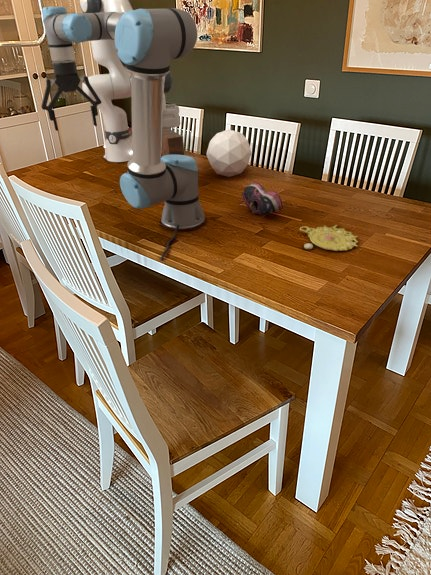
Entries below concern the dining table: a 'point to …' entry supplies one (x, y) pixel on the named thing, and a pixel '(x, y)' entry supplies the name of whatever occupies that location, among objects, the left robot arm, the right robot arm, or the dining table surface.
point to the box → (171, 143)
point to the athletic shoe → (261, 200)
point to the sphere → (229, 153)
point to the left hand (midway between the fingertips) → (158, 140)
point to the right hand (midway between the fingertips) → (76, 127)
